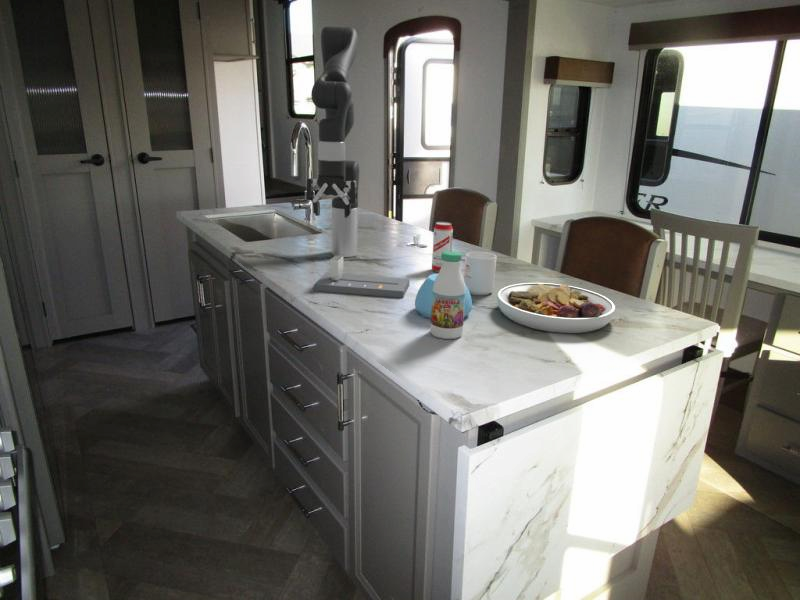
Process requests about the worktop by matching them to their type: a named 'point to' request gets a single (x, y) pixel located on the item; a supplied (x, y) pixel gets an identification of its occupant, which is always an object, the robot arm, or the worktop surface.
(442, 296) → the milk bottle
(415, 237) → the teacup and saucer
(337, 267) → the fader tab
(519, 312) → the bowl
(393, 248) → the worktop surface
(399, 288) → the slider console
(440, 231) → the beer can
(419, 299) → the sugar bowl
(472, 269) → the mug
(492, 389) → the worktop surface
